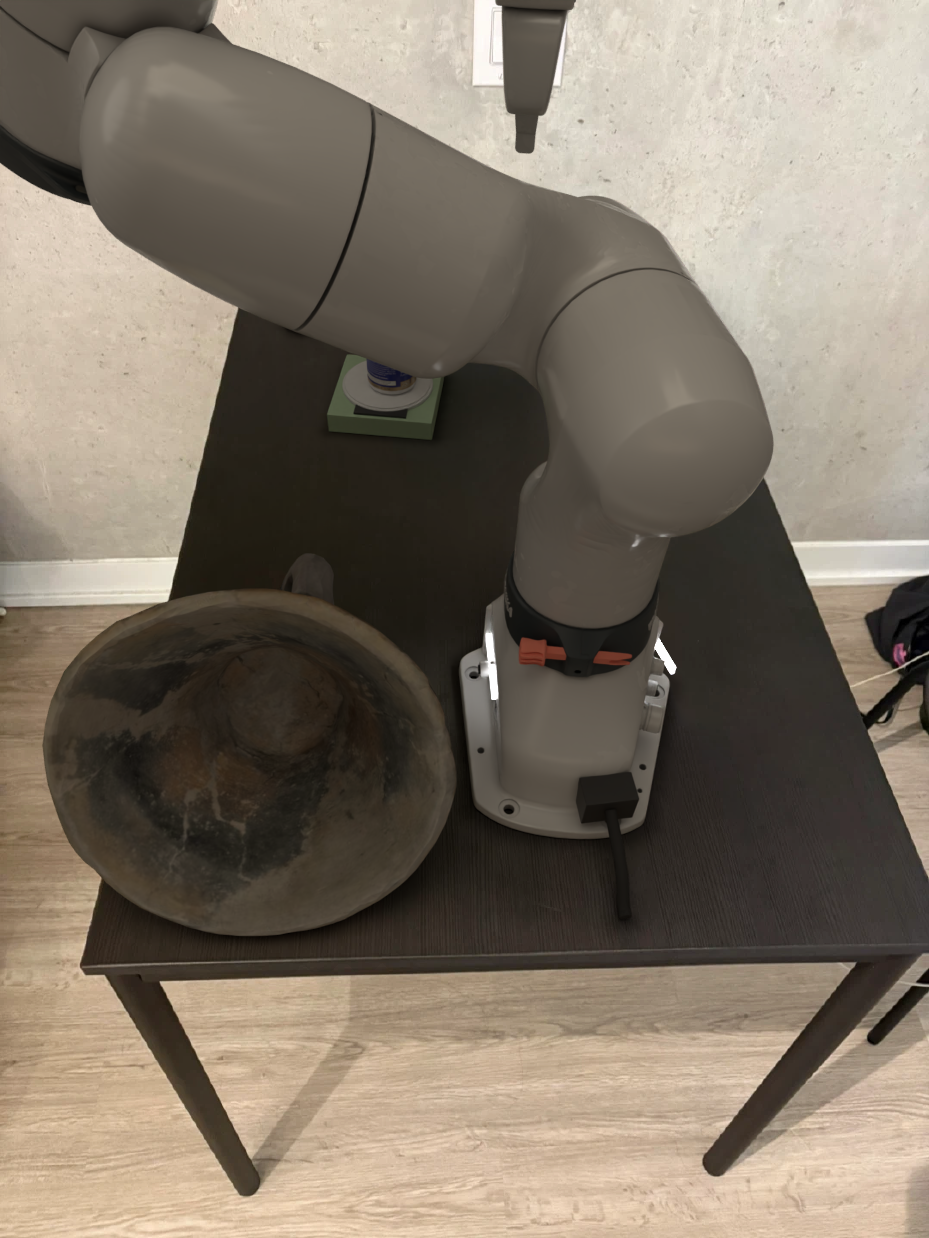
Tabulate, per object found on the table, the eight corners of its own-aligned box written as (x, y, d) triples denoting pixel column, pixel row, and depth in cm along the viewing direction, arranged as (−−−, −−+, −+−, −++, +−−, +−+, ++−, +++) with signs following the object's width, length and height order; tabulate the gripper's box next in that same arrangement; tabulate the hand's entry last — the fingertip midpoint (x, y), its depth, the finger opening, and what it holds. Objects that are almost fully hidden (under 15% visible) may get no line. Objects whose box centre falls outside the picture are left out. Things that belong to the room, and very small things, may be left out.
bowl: (175, 857, 75) (125, 985, 61) (55, 577, 65) (-36, 653, 51) (474, 784, 75) (492, 896, 61) (397, 493, 65) (397, 546, 51)
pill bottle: (411, 399, 98) (408, 321, 90) (362, 393, 99) (356, 314, 91) (421, 371, 102) (420, 293, 94) (374, 365, 102) (369, 287, 95)
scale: (431, 440, 98) (431, 419, 96) (328, 431, 99) (326, 410, 97) (444, 378, 106) (444, 357, 104) (348, 371, 106) (346, 349, 104)
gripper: (512, -79, 79) (503, 87, 90) (494, -13, 66) (486, 173, 77) (580, -75, 79) (563, 91, 90) (575, -8, 66) (556, 178, 77)
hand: (527, 130), depth 83 cm, fingers open, 8 cm apart
